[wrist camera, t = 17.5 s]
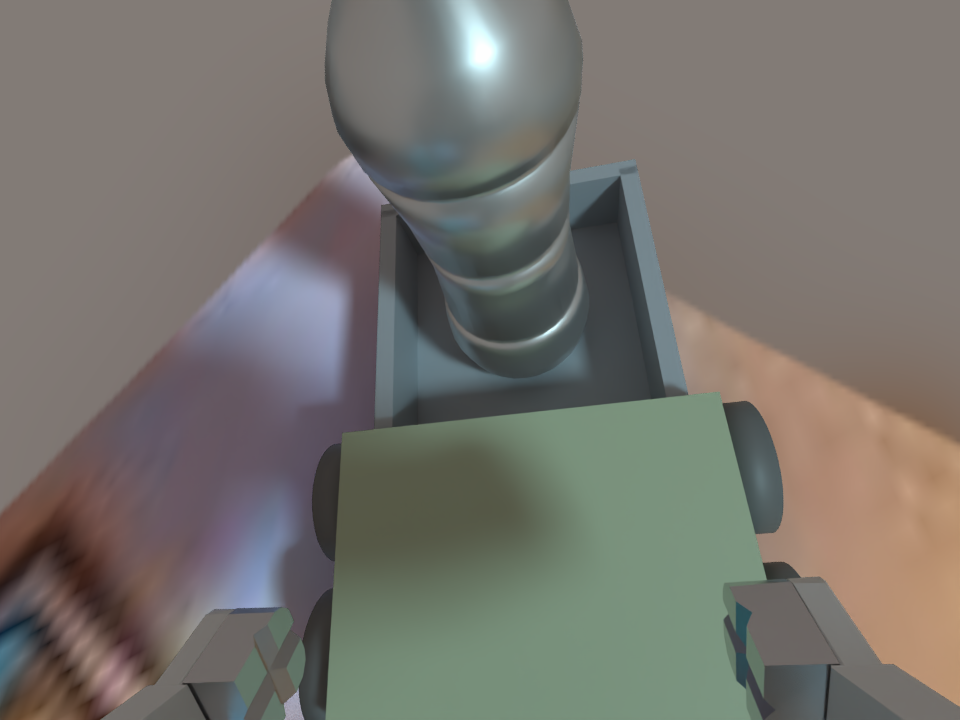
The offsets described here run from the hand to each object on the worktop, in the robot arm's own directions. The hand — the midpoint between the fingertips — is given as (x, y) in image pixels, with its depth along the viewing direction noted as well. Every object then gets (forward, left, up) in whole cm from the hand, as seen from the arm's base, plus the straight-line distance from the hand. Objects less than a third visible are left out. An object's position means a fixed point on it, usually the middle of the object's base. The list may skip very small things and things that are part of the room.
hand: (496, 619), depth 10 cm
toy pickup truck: (+7, 0, -14) cm, 15 cm away
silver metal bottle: (+12, 0, -13) cm, 18 cm away
